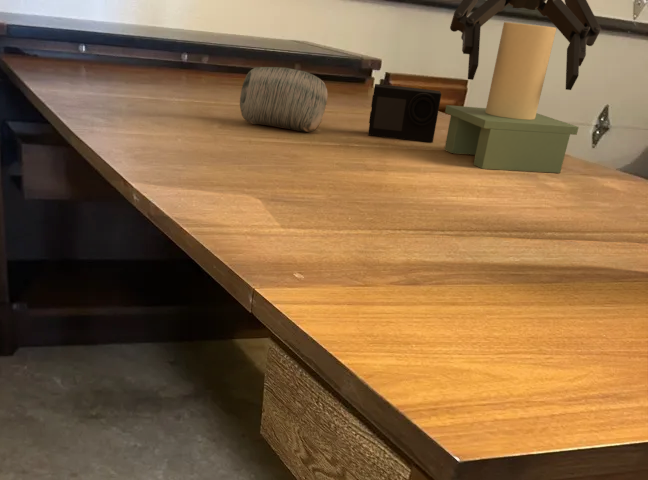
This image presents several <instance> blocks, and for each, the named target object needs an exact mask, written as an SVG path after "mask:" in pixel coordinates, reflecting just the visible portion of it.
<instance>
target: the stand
mask: <svg viewBox="0 0 648 480" xmlns="http://www.w3.org/2000/svg"><path fill="white" fill-rule="evenodd" d="M485 111H486V107H478V106H477V107H476V106H475V107H474V106H464V105H463V106H461V105H451V104H450V105H449V104H448V105H447V104H446V105H445V111H444V113H445V114H447V115H450V117H449V118H450V119H449V124H448V129H447V135H446V139H445V145H444V151H446V150H447V152H448V153H450V154H452V153H453V155H455V154H456V155H469V154H470V155H469V156H474V160H473V166H476V167H478V168H480V169H482V170H499V171H516V172H533V173H551V174H561V171H562V168H563V164H564V160H565V156H566V152H567V148H568V143H569V141H570V137H571V135H572V136H573V135H574V136H577V135H578V131H579V128H580V127H579V126H577V125H574V124H571V123H568V122H565V121H562V120H559V119H555V118H553V117H549V116H547V115H544V114H541V113H538V112H536V117H535V119H532V120H523V119H512V118H505V117H499V116H494V115H490V114H487V113H485Z"/></svg>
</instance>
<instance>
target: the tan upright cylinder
mask: <svg viewBox="0 0 648 480" xmlns="http://www.w3.org/2000/svg"><path fill="white" fill-rule="evenodd" d="M557 30H558V29H557V27H553V26H546V25H537V24H529V23H518V22H508V21H504V22H503V24H502V30H501V35H500V39H499V44H498V50H497V54H496V59H495V63H494V68H493V73H492V77H491V83H490V88H489V92H488V98H487V102H486V107H485V108H486V111H485V113H487V114H490V115H494V116H499V117H505V118H512V119H523V120H532V119H535V117H536V113H538V109H539V108H538V107H539V104H540V100H541V95H542V91H543V87H544V84H545V83H544V82H545V80H546V79H545V78H546V74H547V70H548V65H549V62H550V57H551V53H552V49H553V45H554V41H555V37H556V34H557V33H556V32H557Z"/></svg>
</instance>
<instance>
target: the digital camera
mask: <svg viewBox="0 0 648 480" xmlns="http://www.w3.org/2000/svg"><path fill="white" fill-rule="evenodd" d="M441 98H442V93H441V91H440V90H435V89H426V88H418V87H409V86H399V85H390V84H379V83H375V84H374V87H373V94H372V98H371V105H370V107H371V109H370V111H369V120H368V124H369V125H368V133H367V135H368V136H371V137H372V136H373V137H381V138H391V139H399V140H408V141H414V142H415V141H416V142H424V141H425V142H426V143H433V142H434V138H435V133H436V129H437V128H436V126H437V121H438V116H439V111H440V110H439V109H440V106H441Z"/></svg>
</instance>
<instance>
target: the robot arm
mask: <svg viewBox="0 0 648 480" xmlns="http://www.w3.org/2000/svg"><path fill="white" fill-rule="evenodd" d="M478 2H479V0H462V1H461V2H460V4H459V5H458V6H457V8H456V9H455V10H454V12H453V16H452V19H451V22H450V25H449V30H450V31H451V32H458V31H459V32H460V33H461V36H460V39H461V40H462V45H461V46H462V47H461V51H462V54H463V55H468V67H467V69H468V70H467V80H470V81H471V80H472V81H474V79H475V76H476V73H477V71H478V67H479V63H480V62H479V61H480V46H481V45H480V42H481V28H482V27H483V26H484V25H485V24H486V23H487V22H489V21H490V19H492V18H493V17H494V16H495V15H496V14H498V13H499V12H503V11H504V10H505V8H507V7H508V6H509V5H510V6H512V9H525V10H526V9H527V10H530V11H535V10H537V11H538V12H539V13H540V14H541V16H543V17H547V19H549V21H550V22H551V23H552V25H554V26H555V28H557V29H556V30H558V31H559V32H560V33H561V34H562V36H563V37H564V38H565V40H566V41H568V43H569V44H568V46H567V48H566V66H565V90H567V91H572V90H573V87H574V85H575V83H576V82H577V79H578V78H579V73H580V67H581V66H582V64H583V62H584V60H585V58H586V55H587V46H588V47H592V46H594V44H595V42H596V40H597V39H598V36H599V34H600V32H601V31H602V27H601V26H600V23H599V22H598V20H597V18H596V16H595V14H594V12H593V10H592V8H591V6H590V4H589V2H588V0H564V1H563V0H486V1H484V2H483V3H482V4H481V5H479V7H478V8H476V9H475V10H474V11H473V9H474V8H475V6H476V5H477V3H478ZM472 11H473V12H472ZM471 12H472V13H471ZM470 13H471V14H470Z"/></svg>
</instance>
